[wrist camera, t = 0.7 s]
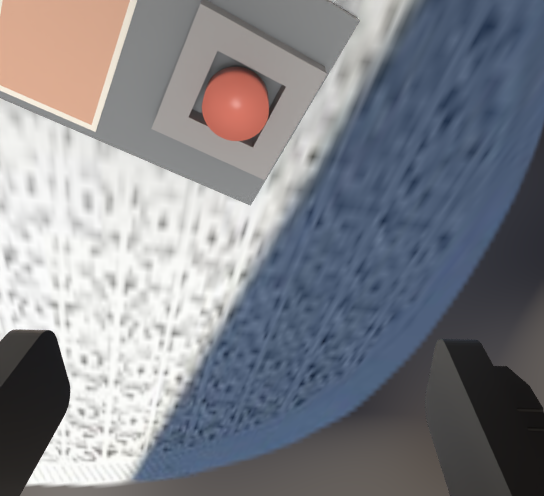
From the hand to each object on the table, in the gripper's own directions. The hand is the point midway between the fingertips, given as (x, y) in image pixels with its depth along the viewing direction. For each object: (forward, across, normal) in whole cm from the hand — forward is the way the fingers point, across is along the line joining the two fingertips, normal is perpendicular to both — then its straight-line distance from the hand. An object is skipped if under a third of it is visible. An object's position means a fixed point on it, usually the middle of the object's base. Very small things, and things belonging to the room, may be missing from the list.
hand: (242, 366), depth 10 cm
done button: (+26, +3, -1) cm, 26 cm away
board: (+26, +9, -4) cm, 28 cm away
